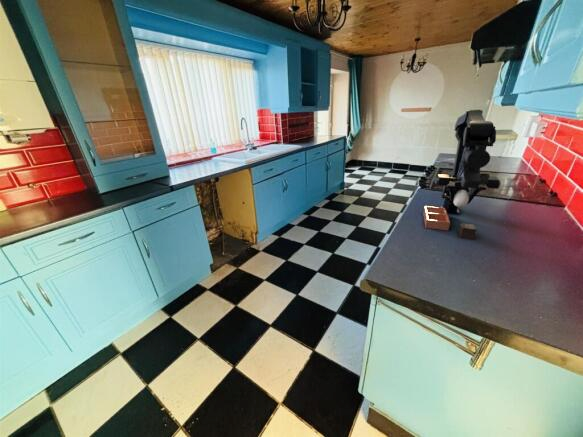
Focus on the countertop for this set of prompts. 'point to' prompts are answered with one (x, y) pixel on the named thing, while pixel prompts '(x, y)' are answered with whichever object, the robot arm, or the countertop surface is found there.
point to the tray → (436, 218)
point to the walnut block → (467, 231)
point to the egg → (461, 198)
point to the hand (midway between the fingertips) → (459, 202)
